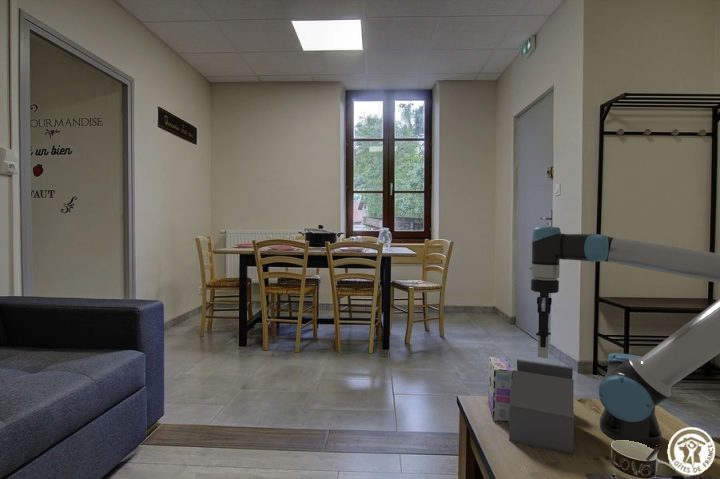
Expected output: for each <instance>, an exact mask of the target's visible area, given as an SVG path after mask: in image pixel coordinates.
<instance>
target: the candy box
mask: <svg viewBox="0 0 720 479" xmlns="http://www.w3.org/2000/svg"><path fill="white" fill-rule="evenodd" d="M513 370H514V369H512V367H511V366H510V363H509V362H508V360H507V358H506V357H498V356H488V390H487V391H488V394H487V397H488V399H487V401H488V402H487V404H488V407H489V411H490V414H491V417H492V421H494V422H500V423H507V424H509V419H510V403H511V389H512V376H513Z"/></svg>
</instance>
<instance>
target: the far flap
mask: <svg viewBox="0 0 720 479" xmlns="http://www.w3.org/2000/svg"><path fill="white" fill-rule="evenodd" d="M516 368H517V369H516V371H522V372H529V373H535V374H541V375H548V376H554V377H560V378H566V379H573V375H574V374H573V373H574V372H573V371H574V367H572V366H567V365H566V366H565V365H559V364H553V363H552V364H551V363H546V362H538V361H532V360H526V359H518V358H517V359H516Z"/></svg>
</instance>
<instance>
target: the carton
mask: <svg viewBox="0 0 720 479" xmlns="http://www.w3.org/2000/svg"><path fill="white" fill-rule="evenodd" d="M574 408H575V407H573V418H571V417H566V416H560V415H555V414H550V413H545V412H540V411H535V410H530V409H525V408H520V407H515V406H510V419H509V423H508V424H509V428H508V429H509V432H508V435H509V436H508V441H510V442H512V443H513V442H514V443H519V444H523V445H526V446H532V447H535V448H539V449H545V450H548V451H552V452H557V453H560V454H565V455H570V456H574V442H575V441H574V439H575V438H574V436H575V434H574V432H575V430H574V429H575V428H574V427H575V415H574V414H575V412H574V411H575V410H574Z"/></svg>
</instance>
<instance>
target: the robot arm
mask: <svg viewBox="0 0 720 479" xmlns="http://www.w3.org/2000/svg"><path fill="white" fill-rule="evenodd" d="M532 230H533V231H532V241H531V266H529V270H530V271H531V277H532V278H531V279H530V290H531V292H533V293H534V292H535V293H539V296H536V305H537V313H538V331H537V332H536V333H535V336H537V358H544V359H548V358H549V336H551V335H552V334H551V332H549V330H550V328H549V320H550V316H549V315H550V314H551V308H552V307H551V306H552V303H553V301H552V300H553V298H552V297H550V294H556V293H559V288H560V287H559V286H560V281H559V278H560V266H561V265H560V260H564V261H565V260H570V261H581V262H583V261H585V262H592V263H595V262H605V263H606V262H607V263H612V264H616V265H617V264H618V265H622V266H628V267H633V268H639V269H644V270H649V271H655V272H660V273H665V274H670V275H675V276H680V277H684V278H690V279H696V280H702V281H706V282H712V283H716V284H718V285H720V253H717V252H712V251H711V252H710V251H704V250H697V249H691V248H684V247H679V246H678V247H677V246H672V245H664V244H659V243H654V242H653V243H651V242H645V241H638V240H631V239H627V238H626V239H625V238H620V237H619V238H618V237H611V236H607V235H605V234H598V233H582V234H581V233H574V234H573V233H567V234H566V233H562V232H561V228H560V227H559V226H558V227H557V226H536V227H534V229H532ZM719 354H720V298H719V299H717V300H716V301H715V302H713V303H711V305H709V306H708V307H706V309H704V310H702V311H701V312H700V313H699V314H697V315H696V316H694V318H692V319H691V320H690V321H688V322H687V323H685V324H684V325H683V326H682V327H680V328H679V329H678V330H676V331H675V332H674V333H672V334H671V335H670V336H668V337H667V338H665V339H664V340H662V342H660V343H659V344H658V345H656V346H655V347H653V348H652V349H651V350H650V351H648V352H647V353H645V354H644V355H642V356H639V355H633V354H629V353H621V352H620V353H618V352H613V353H609V354H608V356H607V357H608V358H607V361H606V362H607V371H606V374H605V375H604V377H603V379H602V380H601V381H600V382H599V386H598V397H599V400H600V403H601V405H602V406H603V407H604V408H603V411H602V413H601V416H600V417H599V418H600V419H599V429H600V431H601V432H602V433H604V435H606V436H608V437H609V438H611V439H613V440H616V441H618V440H629V441H634V442H639V443H642V444H645V445H647V446H651V447H650V448H654V447H657V446H656V445H658V446H660V445H661V444H662V443H663V442H662V441H663V440H662V439H663V434H662V431H661V427H660V425H659V422H658V419H657V415H656V409H655V408H656V406H658V405H660V404H662V402H664V401H666V400H667V399H668V398H671V396H672V390H671V389H672V387H673V385H675V384H677V383H679V382H680V381H681V380H683V379H685V377H687V376H688V375H690V374H691V373H693V372H695V371H696V370H697V369H698V368H700V367H702V366H703V365H705V364H706V363H708V362H709V361H710V360H712V359H713V358H715V357H716V356H718V355H719ZM659 444H660V445H659Z"/></svg>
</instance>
